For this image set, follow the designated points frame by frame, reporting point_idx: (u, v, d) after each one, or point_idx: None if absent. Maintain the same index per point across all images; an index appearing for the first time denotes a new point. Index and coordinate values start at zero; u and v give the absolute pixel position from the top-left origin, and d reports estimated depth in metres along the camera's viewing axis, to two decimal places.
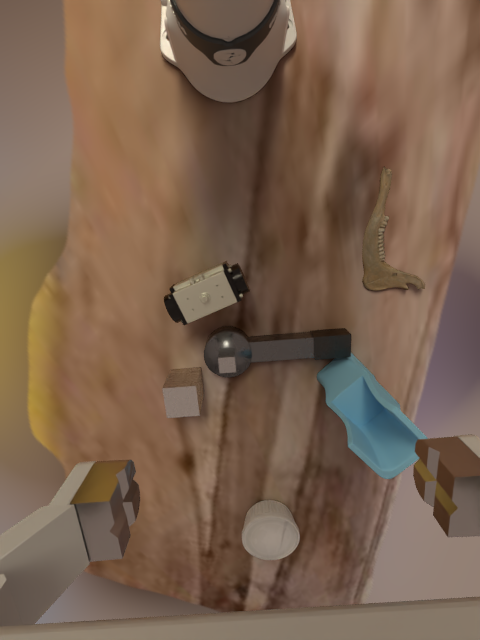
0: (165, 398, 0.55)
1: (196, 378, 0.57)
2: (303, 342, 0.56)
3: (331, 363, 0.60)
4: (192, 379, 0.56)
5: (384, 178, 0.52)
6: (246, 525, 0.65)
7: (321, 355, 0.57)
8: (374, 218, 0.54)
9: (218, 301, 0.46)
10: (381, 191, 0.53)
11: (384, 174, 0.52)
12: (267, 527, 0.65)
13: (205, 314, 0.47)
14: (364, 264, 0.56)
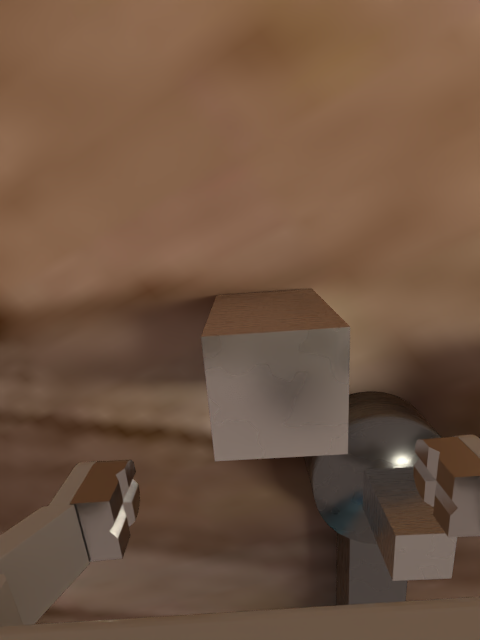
0: (299, 335, 0.12)
1: None
2: None
3: None
4: None
5: None
6: None
7: None
8: None
9: None
10: None
11: None
12: None
13: None
14: None
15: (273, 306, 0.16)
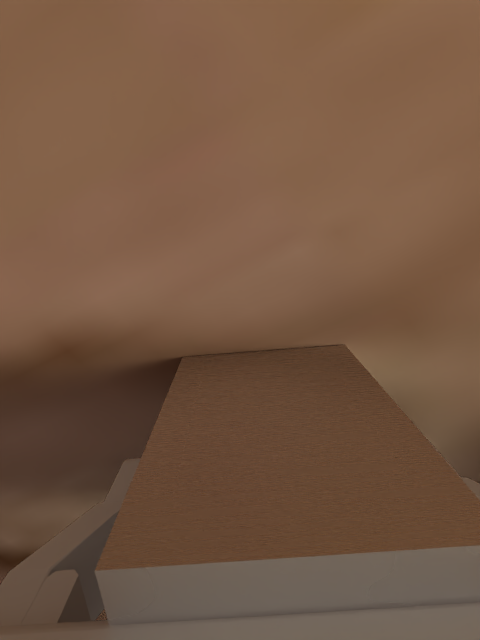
0: (372, 564, 0.04)
1: None
2: None
3: None
4: None
5: None
6: None
7: None
8: None
9: None
10: None
11: None
12: None
13: None
14: None
15: (285, 403, 0.08)
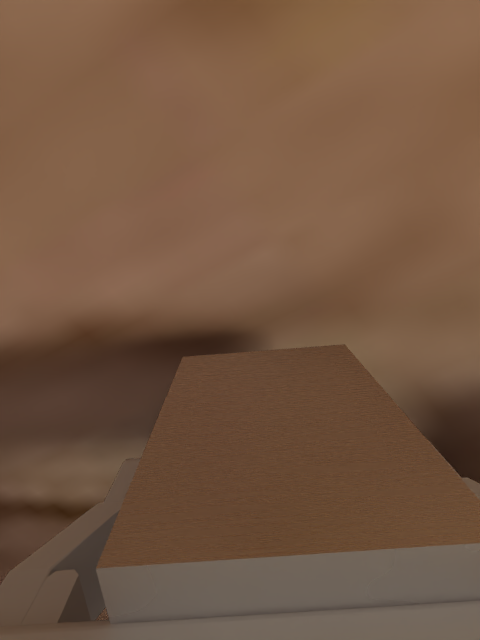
0: (371, 562, 0.04)
1: None
2: None
3: None
4: None
5: None
6: None
7: None
8: None
9: None
10: None
11: None
12: None
13: None
14: None
15: (285, 402, 0.08)
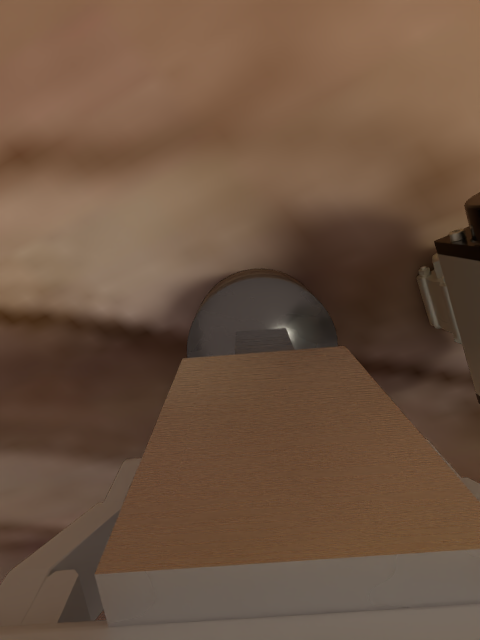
0: (372, 567, 0.04)
1: None
2: None
3: None
4: None
5: None
6: None
7: None
8: None
9: None
10: None
11: None
12: None
13: None
14: None
15: (285, 405, 0.08)
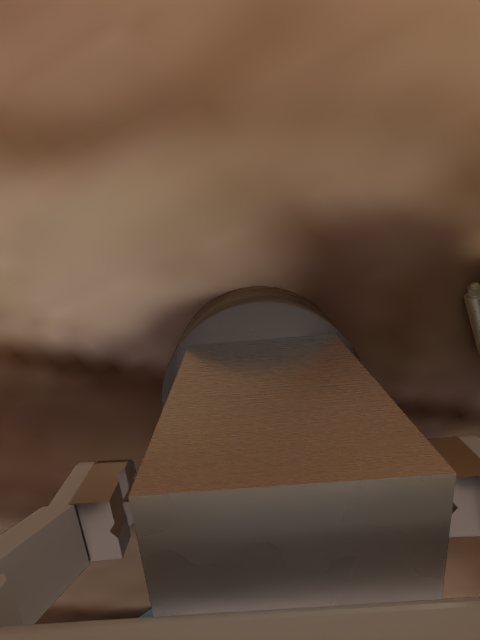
0: (344, 490, 0.06)
1: None
2: None
3: None
4: None
5: None
6: None
7: None
8: None
9: None
10: None
11: None
12: None
13: None
14: None
15: (280, 380, 0.09)
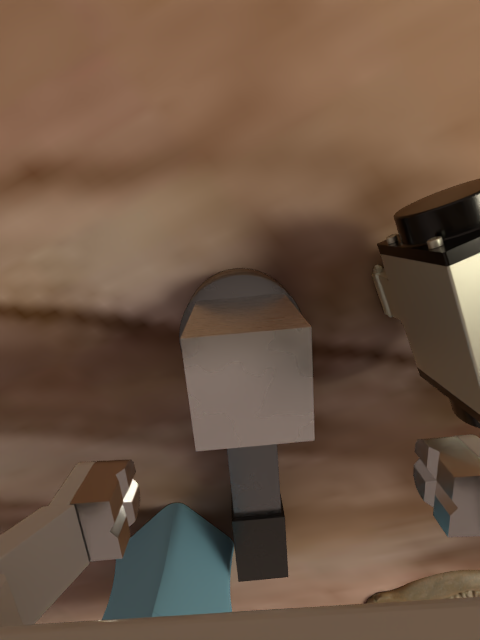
0: (267, 335, 0.14)
1: None
2: (271, 495, 0.25)
3: (209, 528, 0.29)
4: None
5: None
6: None
7: (241, 532, 0.26)
8: None
9: None
10: None
11: None
12: None
13: (469, 327, 0.14)
14: (408, 588, 0.32)
15: (247, 309, 0.18)
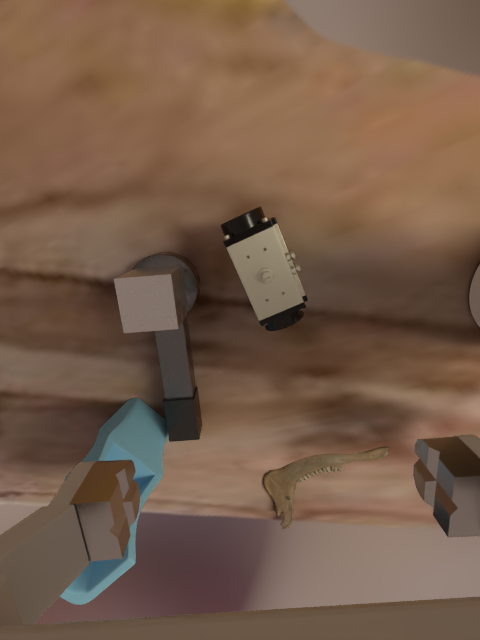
0: (151, 277, 0.32)
1: (182, 319, 0.36)
2: (186, 386, 0.43)
3: (155, 414, 0.47)
4: (181, 313, 0.35)
5: (378, 452, 0.49)
6: None
7: (169, 408, 0.44)
8: (337, 458, 0.50)
9: (260, 294, 0.32)
10: (365, 453, 0.50)
11: (381, 451, 0.49)
12: None
13: (240, 275, 0.32)
14: (288, 466, 0.50)
15: (154, 270, 0.35)
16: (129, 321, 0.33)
